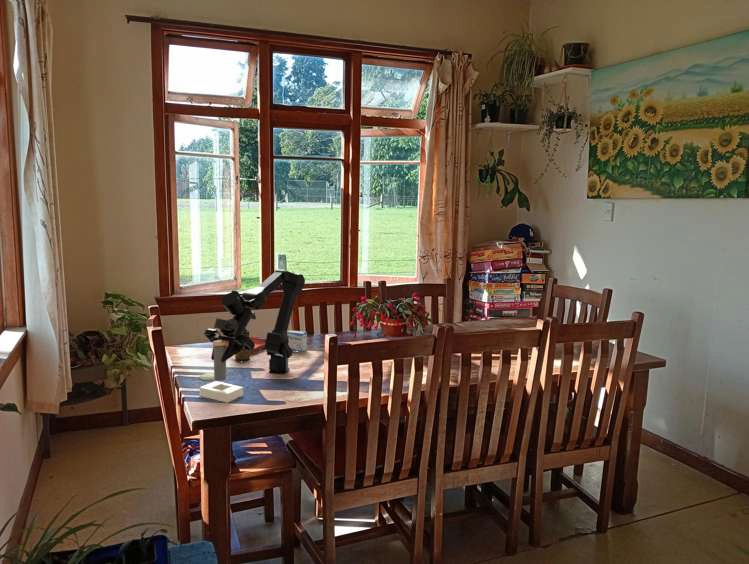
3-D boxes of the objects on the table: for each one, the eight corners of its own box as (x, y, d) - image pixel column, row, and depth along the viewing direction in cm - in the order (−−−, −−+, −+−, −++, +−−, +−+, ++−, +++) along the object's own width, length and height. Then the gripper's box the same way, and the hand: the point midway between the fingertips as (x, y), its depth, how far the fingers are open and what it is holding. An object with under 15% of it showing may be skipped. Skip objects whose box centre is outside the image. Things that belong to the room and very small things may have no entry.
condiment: (246, 356, 249) (246, 328, 248) (256, 360, 243) (256, 332, 241) (230, 358, 245) (230, 330, 243) (239, 363, 238) (240, 334, 237)
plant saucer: (272, 346, 267) (273, 339, 266) (251, 356, 250) (251, 348, 250) (238, 341, 273) (238, 334, 272) (215, 351, 256) (215, 343, 256)
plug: (229, 377, 203) (228, 340, 201) (223, 381, 198) (222, 343, 196) (217, 376, 203) (216, 339, 201) (211, 380, 199) (210, 342, 197)
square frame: (215, 389, 207) (215, 380, 207) (243, 395, 202) (243, 387, 202) (199, 395, 200) (199, 387, 200) (227, 402, 195) (227, 393, 194)
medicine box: (285, 351, 259) (286, 331, 258) (290, 348, 263) (290, 329, 262) (302, 353, 257) (302, 333, 255) (306, 350, 261) (307, 331, 260)
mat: (225, 374, 223) (225, 373, 223) (216, 381, 215) (216, 380, 215) (205, 373, 224) (205, 372, 224) (195, 379, 217) (195, 378, 217)
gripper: (207, 305, 205) (183, 343, 197) (249, 312, 196) (226, 352, 188) (223, 323, 213) (201, 360, 205) (264, 331, 204) (242, 370, 197)
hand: (217, 360), depth 199 cm, fingers closed on plug, 4 cm apart
